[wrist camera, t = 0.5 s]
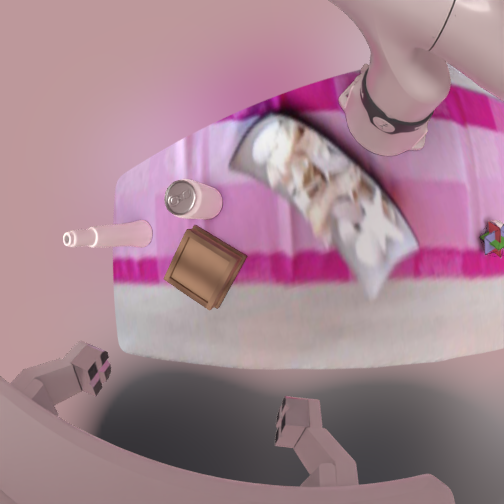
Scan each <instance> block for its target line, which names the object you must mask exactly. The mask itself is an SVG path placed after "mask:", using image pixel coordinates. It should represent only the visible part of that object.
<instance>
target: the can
mask: <svg viewBox="0 0 504 504" xmlns="http://www.w3.org/2000/svg"><path fill="white" fill-rule="evenodd" d="M222 203H223V201H222V196H221V194H220V193H219V191H218V190H216V189H215V188H213V187H210V186H208V185H205V184H202V183H199V182H196V181H193V180H189V179H182V180H178V181H175V182H173V183H172V184H171V185H170V186H169V187H168V188H167V190H166V193H165V205H166V207H167V209H168V210H169V212H171V213H172V214H174V215H175V216H177V217H179V218H186V219H211V218H214V217H215V216H216V215H218V213H219V212H220V210H221V208H222Z"/></svg>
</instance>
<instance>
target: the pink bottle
mask: <svg viewBox="0 0 504 504" xmlns="http://www.w3.org/2000/svg"><path fill="white" fill-rule="evenodd" d="M151 239H152V228H151V226H150V224H149V223H148V222H146V221H144V220H138V221H135V222H131V223H124V224H114V225H103V226H95V227H89V228H88V229H87V230H71V231H69V232H66V233H65V234H64V236H63V242H64V244H65V245H66V246H70V247H81V246H89V247H92V248H93V247H94V248H96V247H117V246H134V247H141V248H142V247H146V246H147V245H148V244H149V243H150V242H151Z"/></svg>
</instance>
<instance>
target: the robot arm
mask: <svg viewBox="0 0 504 504" xmlns="http://www.w3.org/2000/svg"><path fill="white" fill-rule="evenodd" d="M329 1H330V2H332V3H333V4H334V5H336V6H337V7H339V8H340V9H341V10H342V11H343V12H344V13H345V14H346V15H348V16H349V18H350V19H351V20H352V21H353V22H354V23H355V24H356V26H357V27H358V28H359V29H360V31H361V32H362V34H363V36H364V37H365V39H366V41H367V43H368V45H369V48H370V51H371V58H370V65H368V64H364V65H363V67H362V68H361V71H360V72H361V74H360V75H359V76H357V77H356V78H355V80H354V81H353V82H352V83H351V85H350V86H349V87H348V88H347V89H346V90H345V91H344V92H343V93H342V94H341V95H340V97H339V99H338V102H339V104H340V106H341V107H342V109H343V110H344V112H345V114H346V119H347V124H348V127H349V130H350V132H351V133H352V135H353V137H354V138H355V139H356V140H357V142H358V143H359V144H361V145H362V146H363V147H364V148H366V149H367V150H369V151H371V152H373V153H376V154H379V155H383V156H394V155H398V154H401V153H403V152H405V151H407V150H421V149H422V148H423V147H424V143H425V137H426V133H427V131H428V129H427V125H428V121H429V119H430V117H431V116H432V114H433V112H434V109H435V108H436V107H437V106H438V105H439V104H440V103H441V102H442V101H443V100H444V99H445V98H446V97H447V95H448V93H449V90H450V85H451V79H450V73H449V70H448V66H447V63H449V64H450V65H452V66H453V67H455V68H456V69H457V70H459V71H460V72H462V73H463V74H464V75H466V76H467V77H468V78H470V79H471V80H472V81H474V82H475V83H476V84H477V85H479V86H480V87H481V88H483V89H484V90H486V91H488V92H489V93H491V94H493V95H494V96H496V97H497V98H499V99H500V100H502V101H504V0H329ZM446 62H447V63H446ZM346 96H348V97H346ZM108 358H109V357H108V352H106V351H104V350H102V349H99V348H97V347H95V346H93V345H90V344H88V343H85V342H83V341H79V342H78V343H77V344H76V345H75V346H74V347H73V348H72V349H71V350H70V351H69V353H67V354H66V356H65V357H64V358H63V359H60V358H59V359H56V360H53V361H50V362H46V363H43V364H40V365H37V366H33V367H30V368H27V369H24V370H23V371H22V372H21V373H20V374H19V375H18V376H17V377H16V378H15V379H14V380H13V381H12V382H11V383H9V382H7V381H6V380H5V379H4V378H2V377H1V376H0V504H455V502H454V497H453V494H452V492H451V490H450V488H449V487H447V486H446V485H445V484H444V483H442V482H441V481H440V480H438V479H437V478H436V477H434V476H433V475H431V474H423V475H419V476H414V477H410V478H404V479H400V480H394V481H387V482H380V483H372V484H363V485H359V484H358V476H357V468H356V462H355V461H354V460H353V459H352V457H351V456H350V455H349V454H348V453H347V452H346V451H345V450H344V449H343V448H342V446H341V445H340V444H339V443H338V442H337V441H336V440H335V439H334V438H333V437H332V435H331V434H330V433H329V432H328V431H327V430H326V428H322V419H321V410H320V401H319V400H318V399H307V398H299V397H289V396H285V397H284V398H283V401H282V406H281V407H280V408H279V411H278V414H277V420H276V427H277V428H278V429H277V432H276V434H275V446H281V447H290V448H294V450H295V452H296V453H297V455H298V457H299V458H300V460H301V461H302V463H303V465H304V466H305V468H306V469H307V471H308V472H309V474H310V476H309V477H308V478H307V479H306V480H305V481H304V482H303V483H302V485H301V487H294V486H277V485H266V484H257V483H249V482H241V481H235V480H229V479H224V478H218V477H213V476H209V475H204V474H200V473H195V472H191V471H187V470H184V469H180V468H177V467H173V466H170V465H167V464H163V463H160V462H157V461H154V460H151V459H148V458H145V457H143V456H140V455H137V454H135V453H132V452H129V451H127V450H124V449H122V448H120V447H117V446H115V445H113V444H110V443H108V442H106V441H104V440H102V439H99V438H97V437H95V436H93V435H91V434H89V433H87V432H85V431H83V430H81V429H79V428H78V427H76V426H74V425H72V424H70V423H68V422H66V421H65V420H63V419H61V418H60V417H58V412H57V410H56V409H55V407H54V405H56V404H58V403H60V402H62V401H64V400H66V399H68V398H70V397H72V396H74V395H76V394H77V393H80V392H82V391H84V392H86V393H89V394H91V395H93V396H95V397H96V396H97V395H98V393H99V392H100V390H101V389H102V383H104V382H106V381H107V380H108V378H109V376H110V373H111V365H110V363H109V362H108V361H107V359H108Z"/></svg>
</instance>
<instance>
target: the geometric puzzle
mask: <svg viewBox="0 0 504 504" xmlns="http://www.w3.org/2000/svg"><path fill="white" fill-rule="evenodd" d="M491 222H495V223H496V224H497V225H498V226H499V227H497V226H496V225H494V224H492V223H491ZM488 223H489V231H488V232H487V233H486V232H485V234H484V235H482V236H480V238H482V239H483V240H484V241H483V240H482V241H483V242H484V243H485V252H484V253H485V255H487V253H489V252H490V251H493V252H494V253H495V254H497V255H498V256H499V257H501V256H503V255H501V249H502V248H504V224H503V223H502V222H501V221H499V220H492V221H490V222H489V221H488ZM487 225H488V224H487ZM485 227H486V226H485ZM484 229H485V228H484ZM486 229H487V228H486ZM480 240H481V239H480ZM481 243H482V242H481ZM493 252H492V253H493ZM502 252H503V251H502ZM489 254H490V253H489ZM494 257H495V256H494Z"/></svg>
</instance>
